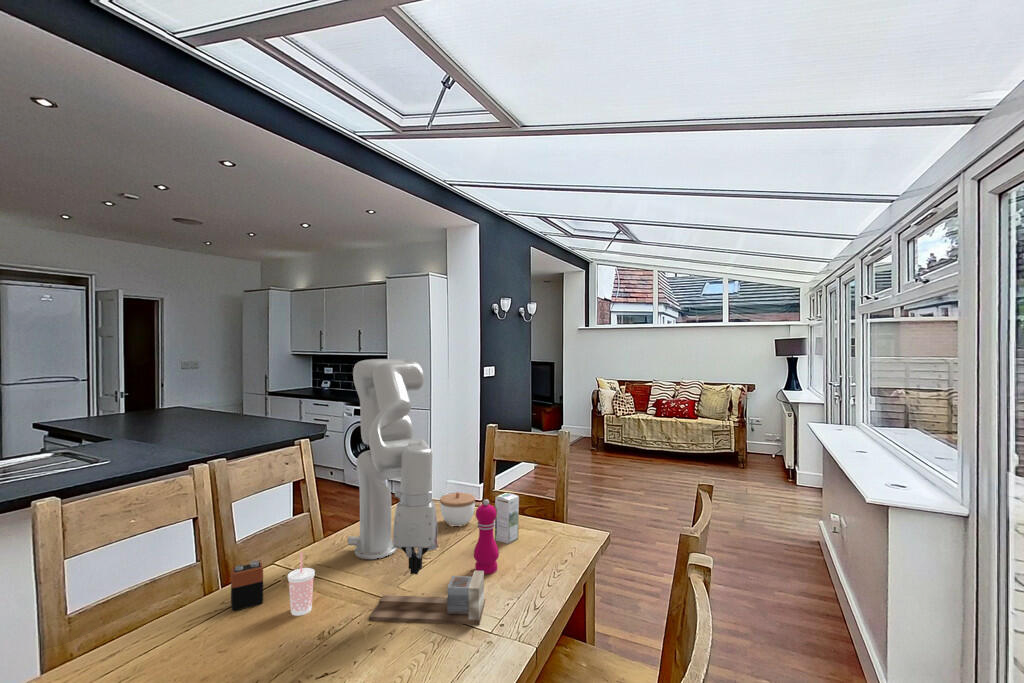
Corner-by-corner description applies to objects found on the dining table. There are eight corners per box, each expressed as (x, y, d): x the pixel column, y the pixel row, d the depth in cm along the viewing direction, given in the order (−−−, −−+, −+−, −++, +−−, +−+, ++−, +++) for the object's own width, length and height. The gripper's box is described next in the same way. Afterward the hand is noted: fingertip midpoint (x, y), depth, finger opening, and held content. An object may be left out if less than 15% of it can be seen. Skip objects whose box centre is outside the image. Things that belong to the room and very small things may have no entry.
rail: (369, 620, 116) (369, 585, 116) (383, 598, 126) (383, 566, 126) (479, 624, 114) (479, 589, 114) (485, 602, 124) (485, 569, 124)
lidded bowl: (435, 528, 174) (435, 497, 174) (446, 516, 187) (446, 486, 187) (470, 530, 172) (470, 498, 172) (478, 518, 185) (478, 488, 185)
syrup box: (504, 535, 168) (504, 492, 168) (519, 539, 165) (519, 495, 165) (494, 540, 163) (494, 496, 164) (509, 544, 160) (508, 499, 160)
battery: (263, 604, 124) (263, 563, 124) (232, 612, 120) (232, 570, 120) (261, 596, 127) (261, 557, 128) (230, 604, 124) (230, 563, 124)
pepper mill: (495, 576, 138) (495, 504, 138) (470, 573, 140) (470, 502, 140) (501, 565, 145) (501, 496, 145) (477, 562, 147) (477, 494, 147)
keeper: (447, 613, 117) (447, 587, 117) (452, 600, 123) (452, 575, 123) (468, 614, 117) (468, 588, 117) (472, 601, 123) (472, 576, 123)
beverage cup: (287, 607, 122) (287, 550, 122) (314, 601, 125) (314, 545, 125) (287, 619, 117) (287, 559, 117) (315, 614, 119) (315, 555, 119)
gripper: (381, 501, 118) (380, 577, 118) (443, 504, 117) (442, 581, 117) (391, 491, 125) (390, 562, 126) (449, 493, 124) (448, 566, 125)
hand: (415, 571), depth 122 cm, fingers closed
